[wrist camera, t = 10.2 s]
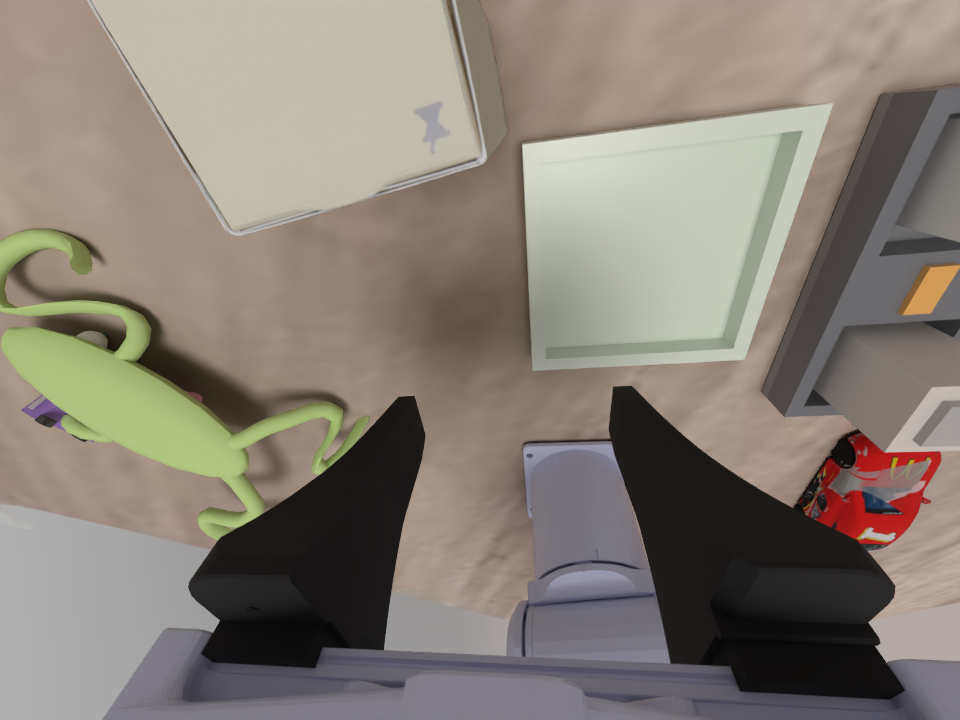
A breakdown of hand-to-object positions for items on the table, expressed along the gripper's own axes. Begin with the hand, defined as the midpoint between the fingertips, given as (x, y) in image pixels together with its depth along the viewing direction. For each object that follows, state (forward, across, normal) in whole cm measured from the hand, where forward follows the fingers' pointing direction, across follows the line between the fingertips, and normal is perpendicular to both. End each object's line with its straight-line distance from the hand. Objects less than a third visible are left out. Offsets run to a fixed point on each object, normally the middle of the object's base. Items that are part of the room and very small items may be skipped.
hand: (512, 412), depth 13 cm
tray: (+10, -7, -2) cm, 12 cm away
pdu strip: (+10, -20, 0) cm, 22 cm away
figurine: (+11, +25, +7) cm, 28 cm away
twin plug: (+9, -20, +4) cm, 22 cm away
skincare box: (+10, +3, -10) cm, 15 cm away
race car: (+10, -25, +18) cm, 32 cm away
